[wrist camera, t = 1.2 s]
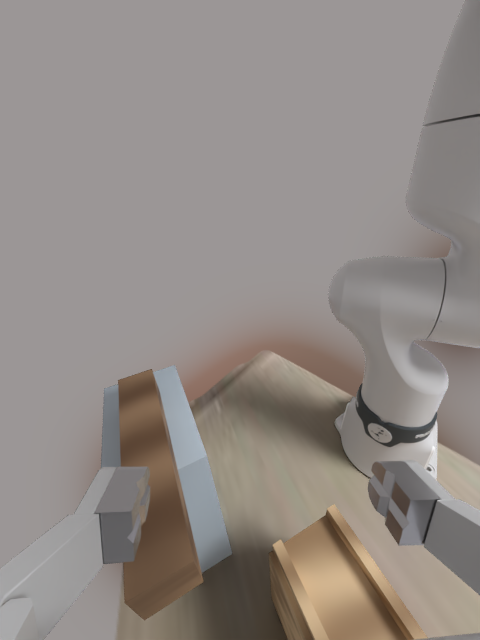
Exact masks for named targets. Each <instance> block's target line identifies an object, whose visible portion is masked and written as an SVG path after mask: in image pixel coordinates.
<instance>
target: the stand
mask: <svg viewBox="0 0 480 640" xmlns="http://www.w3.org/2000/svg"><path fill="white" fill-rule="evenodd" d="M153 374H154V377H155V380H156V382H157V385H158V388H159V391H160V395H161V400H162V404H163V408H164V413H165V417H166V421H167V425H168V430H169V434H170V438H171V443H172V447H173V451H174V456H175V460H176V464H177V469H178V473H179V477H180V482H181V486H182V490H183V495H184V499H185V503H186V508H187V512H188V516H189V521H190V525H191V529H192V534H193V538H194V542H195V547H196V551H197V555H198V559H199V564H200V568H201V572H202V573H203V572H204V571H206V570H208V569H209V568H211V567H212V566H214V565H215V564H217V563H219V562H220V561H222V560H223V559H225V558H226V557H228V556H230V555H231V554H232V551H231V547H230V543H229V539H228V535H227V531H226V527H225V524H224V520H223V516H222V512H221V508H220V504H219V500H218V497H217V493H216V489H215V485H214V481H213V477H212V473H211V469H210V466H209V462H208V458H207V455H206V452H205V449H204V446H203V443H202V440H201V437H200V435H199V432H198V429H197V426H196V423H195V420H194V418H193V415H192V412H191V409H190V406H189V403H188V401H187V398H186V395H185V392H184V389H183V387H182V384H181V381H180V378H179V375H178V372H177V369H176V367H175V365H173V366H170V367H167V368H164V369H162V370H158V371H155V372H153ZM102 467H121V460H120V426H119V391H118V384H117V385H114V386H111V387H108V388H105V389H104V407H103V432H102V455H101V468H102Z"/></svg>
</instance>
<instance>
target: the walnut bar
mask: <svg viewBox="0 0 480 640" xmlns="http://www.w3.org/2000/svg"><path fill="white" fill-rule="evenodd" d="M118 391H119V426H120V460H121V467H149V470H150V477H149V481H148V485H149V486H150V502H149V508H148V513H147V517H146V521H145V522H144V523H143V524H142V525H141V539H140V542H139V546H138V549H137V553H136V556H135V560H134V561H131V562H123V563H124V597H125V604H126V605H128V606H129V607H130V608H131V609H132V610H133V611H134V612H136V613H137V614H138V615H139V616H140V617H141V618H142V619H144V620H146V619H147V618H149V617H150V616H152V615H153V614H155V613H157V612H158V611H160V610H161V609H163V608H164V607H166V606H167V605H169V604H170V603H172V602H174V601H175V600H177V599H178V598H180V597H181V596H183V595H184V594H186V593H187V592H189V591H191V590H192V589H194V588H195V587H197V586H198V585H200V584H201V583H203V582H204V581H203V577H202V572H201V568H200V564H199V559H198V555H197V551H196V547H195V542H194V538H193V534H192V529H191V525H190V521H189V516H188V512H187V508H186V503H185V499H184V495H183V490H182V486H181V482H180V477H179V473H178V469H177V464H176V460H175V456H174V451H173V447H172V443H171V438H170V434H169V430H168V425H167V421H166V417H165V413H164V408H163V404H162V400H161V395H160V391H159V388H158V385H157V382H156V380H155V377H154V374H153V371H152V369H150V370H147V371H144V372H141V373H139V374H135V375H132V376H129V377H127V378H123V379H120V380H118Z"/></svg>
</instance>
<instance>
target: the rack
mask: <svg viewBox="0 0 480 640" xmlns="http://www.w3.org/2000/svg"><path fill="white" fill-rule="evenodd" d="M269 566H270V582H271V597H272V600H273V603H274V605H275V608H276V611H277V613H278V616H279V618H280V621H281V624H282V626H283V629H284V631H285V634H286V636H287V639H288V640H414V639H424V638H427V636H426V635H425V633H424V632H423V630H422V629H421V628H420V626H419V625H418V623H417V622H416V620H415V619H414V618H413V616H412V615H411V613H410V612H409V610H408V609H407V608H406V606H405V605H404V603H403V602H402V600H401V599H400V598H399V596H398V595H397V593H396V592H395V590H394V589H393V588H392V586H391V585H390V583H389V582H388V580H387V579H386V578H385V576H384V575H383V573H382V572H381V570H380V569H379V568H378V566H377V565H376V563H375V562H374V560H373V559H372V558H371V556H370V555H369V553H368V552H367V550H366V549H365V548H364V546H363V545H362V543H361V542H360V540H359V539H358V538H357V536H356V535H355V533H354V532H353V530H352V529H351V528H350V526H349V525H348V523H347V522H346V520H345V519H344V518H343V516H342V515H341V513H340V512H339V510H338V509H337V508H336V506H335V505H332V506H331V507H329V508H328V509H327V512H326V515H325V516H324V517H322V518H321V519H319V520H318V521H316V522H315V523H313V524H312V525H310V526H309V527H307V528H306V529H304V530H303V531H301V532H300V533H298V534H297V535H295V536H294V537H292V538H291V539H289V540H288V541H286V542H285V543H283V542H282V540H279V541H277V542H276V543H274V544H273V551H271V552H270V553H269Z"/></svg>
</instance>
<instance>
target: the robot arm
mask: <svg viewBox="0 0 480 640" xmlns="http://www.w3.org/2000/svg"><path fill="white" fill-rule="evenodd" d="M423 126H427V127H423V128H422V131H421V135H420V139H419V143H418V148H417V152H416V156H415V161H414V165H413V170H412V173H411V178H410V182H409V186H408V190H407V195H406V206H407V209H408V212H409V213H410V215H411V216H412V218H414V219H415V220H416V221H417V222H419V223H420V224H422V225H423V226H425V227H427V228H428V229H431V230H432V231H434V232H437V233H439V234H441V235H443V236H445V237H447V238H449V239H450V240H451V249H450V251H449V254H448V256H446V257H444V258H416V257H415V258H414V257H388V256H381V257H372V258H365V259H358V260H352V261H348V262H347V263H345V264H344V265H343V266H342V267H341V268H340V269H339V270H338V271H337V273H336V274H335V275H334V277H333V279H332V281H331V284H330V287H329V293H328V298H329V305H330V308H331V311H332V313H333V315H334V316H335V318H336V319H337V320H338V321H339V322H340V323H341V324H343V325H344V326H345V327H346V328H347V329H349V330H350V331H351V332H352V333H353V335H354V336H355V337H356V338H357V339H358V341H359V343H360V344H361V346H362V348H363V351H364V354H365V360H366V361H365V374H364V379H363V383H362V384H361V385H360V387H359V390H358V392H357V395H356V397H353V398H352V399H351V402H348V404H347V406H346V410H345V412H344V413H343V414H341V415H340V416H339V417H337V418H336V420H335V426H336V428H337V430H338V431H339V433H340V435H341V440H342V445H343V448H344V451H345V453H346V455H347V456H348V458H349V459H350V461H351V462H352V463H353V464H354V465H355V466H356V467H357V468H358V469H359V470H360V471H361V472H362V473H364V474H365V475H367V476H368V477H370V478H371V479H370V480H369V484H368V492H369V497H370V500H371V502H372V504H373V506H374V508H375V509H376V511H377V512H379V513H380V514H381V515H383V516H384V517H385V525H386V526H387V528H388V529H389V531H390V533H391V534H392V536H393V537H394V539H395V540H396V542H397V543H398V545H424V547H425V548H426V549H427V550H428V551H429V552H430V553H432V554H433V555H434V556H435V557H436V558H437V559H439V560H440V561H441V562H442V563H443V564H444V565H445V566H447V567H448V568H449V569H450V570H451V571H452V572H454V573H455V574H456V575H457V576H458V577H459V578H460V579H462V580H463V581H464V582H465V583H466V584H467V585H469V586H470V587H471V588H472V589H473V590H474V591H475V592H477V593H478V594H479V595H480V510H478V509H476V508H474V507H473V506H471V505H469V504H467V503H466V502H464V501H462V500H460V499H455V498H454V497H453V496H452V495H451V494H450V493H449V492H448V491H447V490H446V489H445V488H444V487H443V486H442V485H441V484H440V483H439V482H438V481H437V480H436V479H437V421H436V418H437V409H438V407H439V405H440V403H441V401H442V399H443V396H444V394H445V392H446V390H447V388H448V383H449V382H448V381H449V380H448V374H447V371H446V369H445V367H444V366H443V364H442V363H441V362H440V361H439V360H438V359H437V358H436V357H435V356H434V355H433V354H431V353H430V352H429V351H427V350H426V349H424V348H423V347H421V346H419V345H417V344H416V343H414V342H413V341H415V340H428V341H434V342H441V343H448V344H455V345H461V346H468V347H475V348H480V0H465V2H464V4H463V6H462V9H461V11H460V14H459V16H458V19H457V21H456V24H455V26H454V29H453V31H452V34H451V37H450V39H449V42H448V45H447V48H446V50H445V53H444V56H443V59H442V62H441V65H440V68H439V70H438V73H437V77H436V80H435V83H434V86H433V89H432V93H431V96H430V100H429V103H428V107H427V110H426V115H425V118H424V122H423ZM427 469H429V470H430V471H428V470H427ZM149 477H150V470H149V467H102V468H101V469H100V470H99V471H98V473H97V474H96V476H95V478H94V479H93V481H92V483H91V485H90V486H89V488H88V490H87V492H86V494H85V495H84V497H83V499H82V500H81V502H80V504H79V506H78V508H77V509H76V511H75V513H74V514H73V515H67V516H66V517H65V518H64V519H62V520H61V521H60V522H59V523H57V524H56V525H55V526H53V527H52V528H51V529H50V530H48V531H47V532H46V533H44V534H43V535H42V536H41V537H39V538H38V539H37V540H36V541H34V542H33V543H32V544H31V545H29V546H28V547H27V548H25V549H24V550H23V551H21V552H20V553H19V554H18V555H17V556H15V557H14V558H13V559H11V560H10V561H9V562H8V563H6V564H5V565H4V566H2V567H1V568H0V640H44V639H45V638H46V636H47V635H48V634H49V633H50V631H51V630H52V629H53V628H54V626H55V625H56V624H57V623H58V622H59V620H60V619H61V618H62V617H63V615H64V614H65V613H66V612H67V610H68V609H69V608H70V607H71V605H72V604H73V603H74V602H75V601H76V599H77V598H78V597H79V596H80V594H81V593H82V592H83V591H84V589H85V588H86V587H87V585H89V583H90V582H91V581H92V580H93V578H94V577H95V576H96V574H97V573H98V572H99V571H100V570H101V568H102V567H103V564H108V563H109V564H110V563H121V562H131V561H134V560H135V556H136V553H137V549H138V546H139V542H140V539H141V525H142V524H143V523H144V522H145V521H146V517H147V513H148V508H149V502H150V486H149V485H148V481H149ZM414 640H480V633H474V634H464V635H454V636H444V637H434V638H424V639H414Z"/></svg>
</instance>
